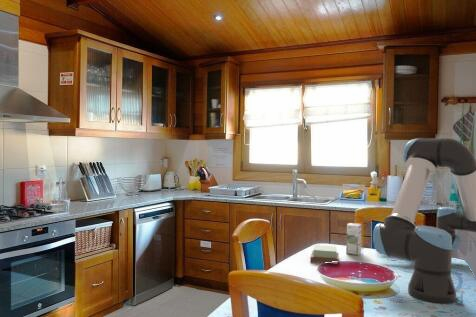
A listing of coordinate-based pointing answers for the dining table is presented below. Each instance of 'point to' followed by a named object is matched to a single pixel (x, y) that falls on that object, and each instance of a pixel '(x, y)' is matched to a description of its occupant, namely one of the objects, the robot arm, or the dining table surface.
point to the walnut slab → (322, 259)
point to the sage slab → (325, 251)
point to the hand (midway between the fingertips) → (374, 236)
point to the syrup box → (353, 239)
